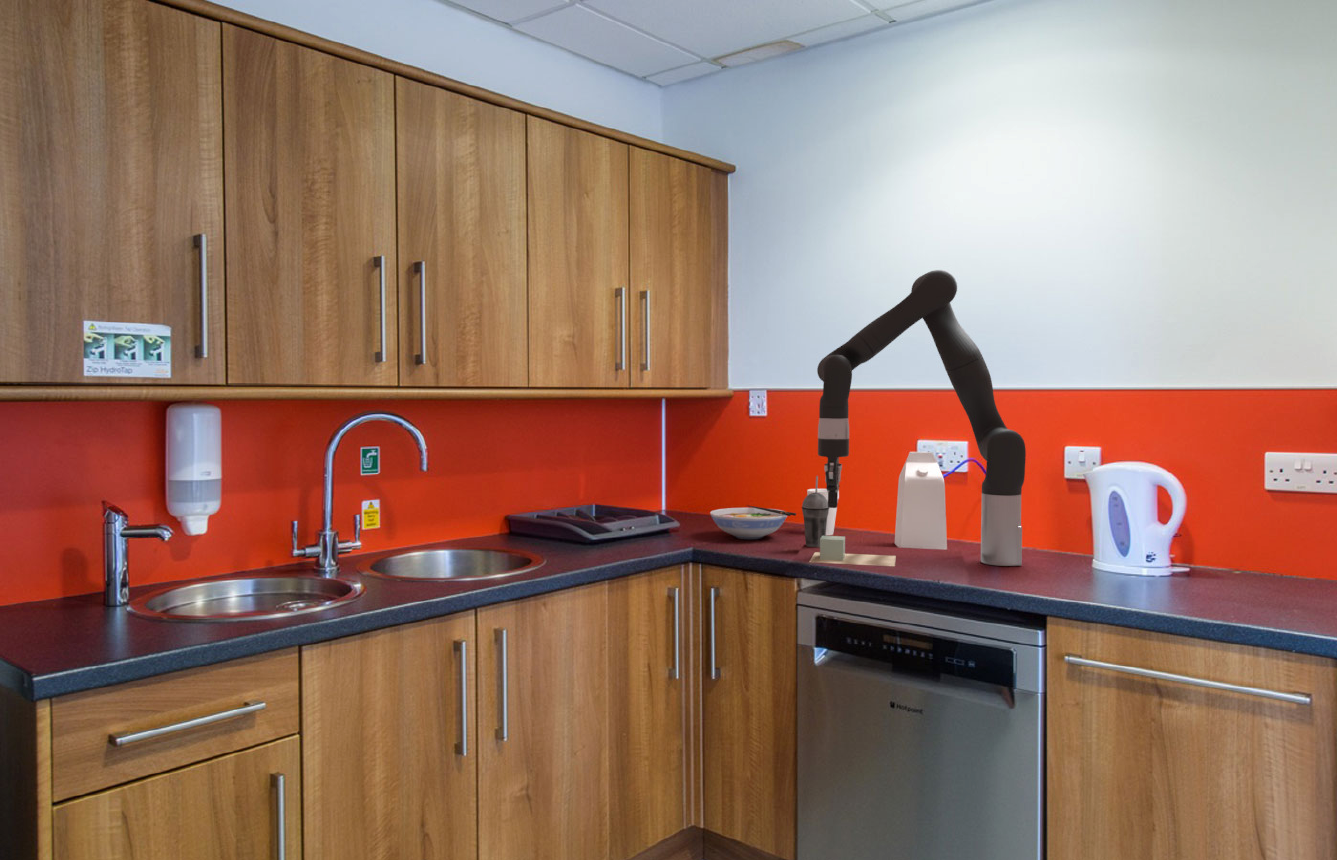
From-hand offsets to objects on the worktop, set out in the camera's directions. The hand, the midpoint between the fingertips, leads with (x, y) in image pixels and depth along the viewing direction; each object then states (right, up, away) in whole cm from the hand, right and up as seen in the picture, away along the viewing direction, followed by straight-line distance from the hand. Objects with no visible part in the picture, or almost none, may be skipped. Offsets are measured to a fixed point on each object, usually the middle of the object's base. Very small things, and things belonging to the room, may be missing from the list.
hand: (832, 507), depth 223 cm
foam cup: (+6, -12, +49) cm, 51 cm away
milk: (+28, -13, +25) cm, 40 cm away
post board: (+5, -14, -1) cm, 15 cm away
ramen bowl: (-17, -13, +41) cm, 46 cm away
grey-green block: (0, -13, 0) cm, 13 cm away
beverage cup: (-1, -14, +19) cm, 23 cm away
